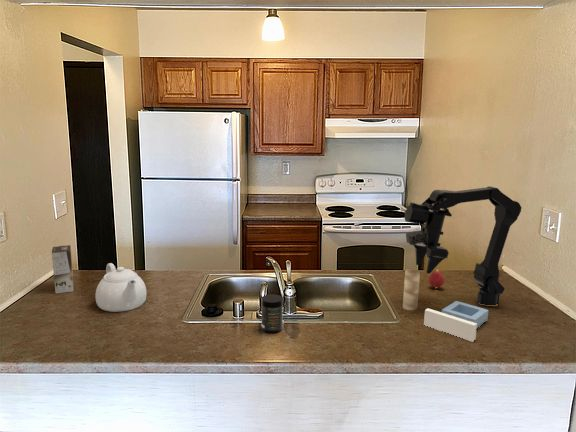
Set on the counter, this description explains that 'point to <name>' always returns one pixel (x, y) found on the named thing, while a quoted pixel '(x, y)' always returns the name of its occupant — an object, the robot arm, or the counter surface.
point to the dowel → (411, 289)
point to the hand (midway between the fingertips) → (422, 269)
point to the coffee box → (62, 269)
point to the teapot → (120, 290)
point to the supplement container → (272, 313)
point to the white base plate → (450, 324)
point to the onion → (436, 279)
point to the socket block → (467, 312)
